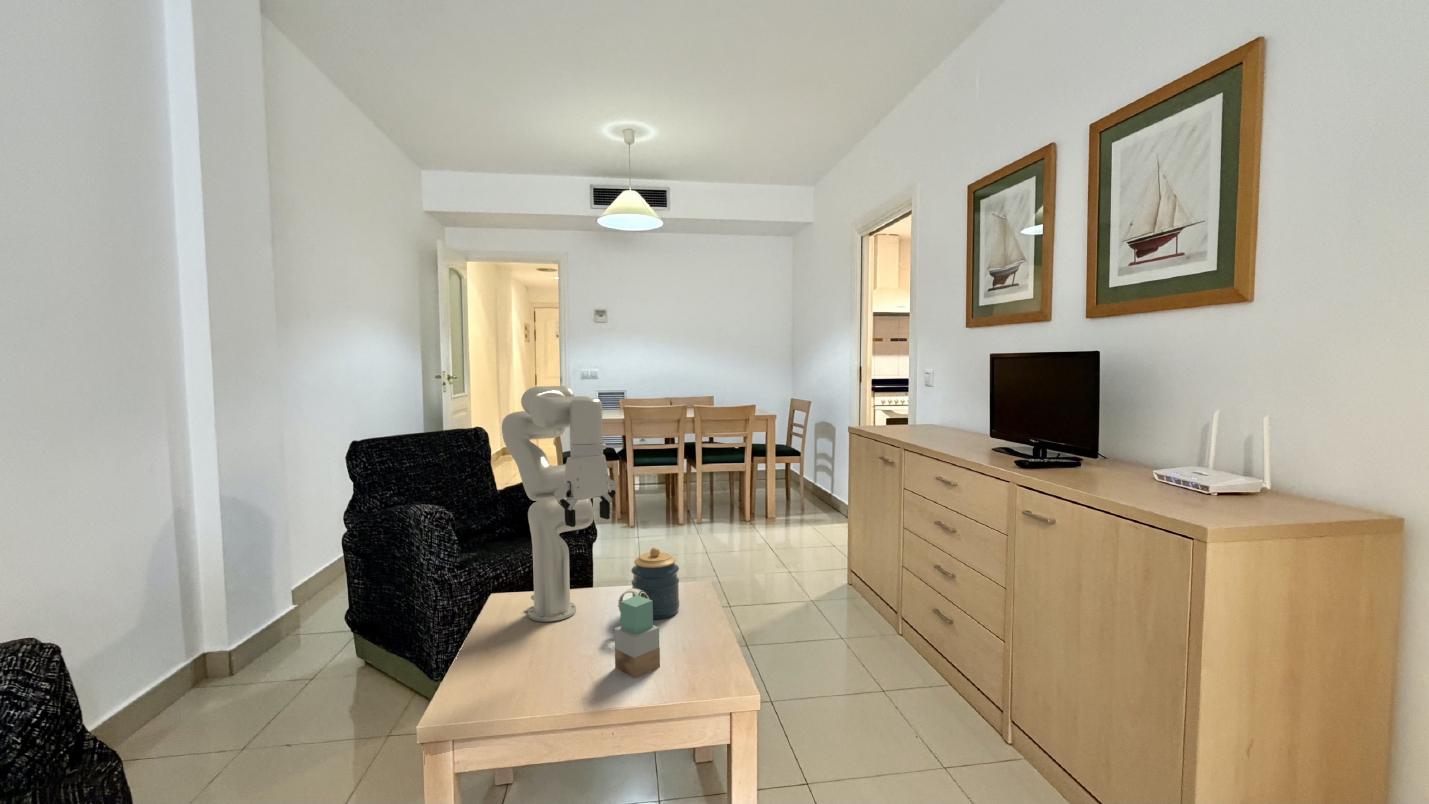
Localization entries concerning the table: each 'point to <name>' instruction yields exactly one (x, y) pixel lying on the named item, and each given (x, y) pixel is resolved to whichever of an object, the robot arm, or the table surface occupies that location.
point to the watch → (635, 593)
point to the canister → (658, 581)
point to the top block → (636, 641)
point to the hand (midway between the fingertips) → (588, 522)
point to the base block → (637, 662)
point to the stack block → (636, 614)
